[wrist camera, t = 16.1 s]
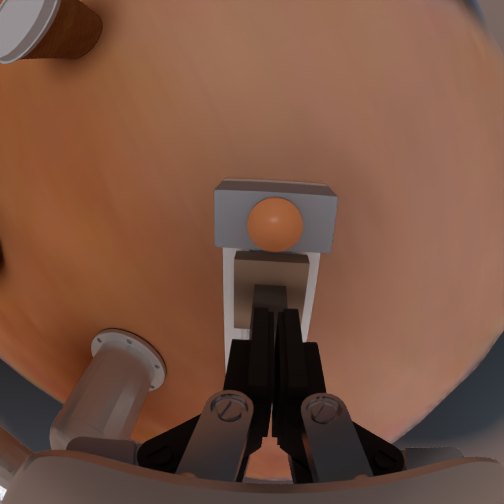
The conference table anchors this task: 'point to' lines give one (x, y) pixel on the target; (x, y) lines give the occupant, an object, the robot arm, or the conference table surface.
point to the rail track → (237, 239)
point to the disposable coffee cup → (46, 29)
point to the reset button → (275, 224)
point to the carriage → (268, 285)
